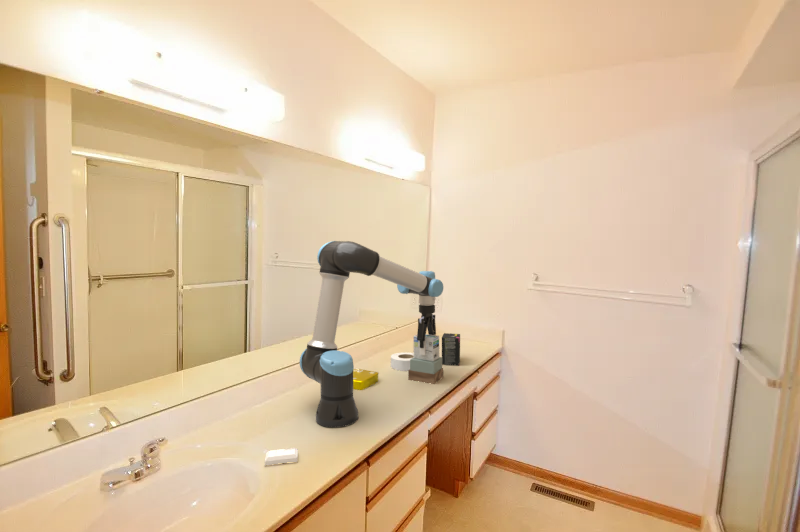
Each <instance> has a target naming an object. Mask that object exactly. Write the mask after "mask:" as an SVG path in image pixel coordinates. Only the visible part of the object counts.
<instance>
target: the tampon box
mask: <svg viewBox="0 0 800 532" xmlns="http://www.w3.org/2000/svg"><path fill="white" fill-rule="evenodd" d="M441 358H442V366H443V365H446V366H455V367H458V366H460V363H461V333H446V332H444V333H443V334H442V337H441Z"/></svg>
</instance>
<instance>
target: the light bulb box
mask: <svg viewBox="0 0 800 532" xmlns="http://www.w3.org/2000/svg"><path fill="white" fill-rule="evenodd" d="M412 337H413V353H414V358H416V359H422V360H428V361H435V360H436V359H438V358H439V357H440V335H437V334H436V335H429V334H427V333H426V335H425V341H426V355H420V341H418V340H417V334H414V335H413V336H412Z"/></svg>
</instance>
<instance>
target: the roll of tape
mask: <svg viewBox="0 0 800 532" xmlns="http://www.w3.org/2000/svg"><path fill="white" fill-rule="evenodd" d="M412 358H414V352H395V353H392V354H390V368H391V367H392V368H391V369H393V370H395V369H396V370H395V371H399V370H400V372H408V370H410V359H412Z"/></svg>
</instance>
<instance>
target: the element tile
mask: <svg viewBox="0 0 800 532" xmlns="http://www.w3.org/2000/svg"><path fill="white" fill-rule="evenodd" d="M376 382H377V383H378V382H379V372H378V371H374V370H367V369H361V368H357V367H356V368H355V367H354V369H353V390H357V391H363V390H366V389H368V388H369V387H371V386H373V385H375V384H376Z"/></svg>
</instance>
